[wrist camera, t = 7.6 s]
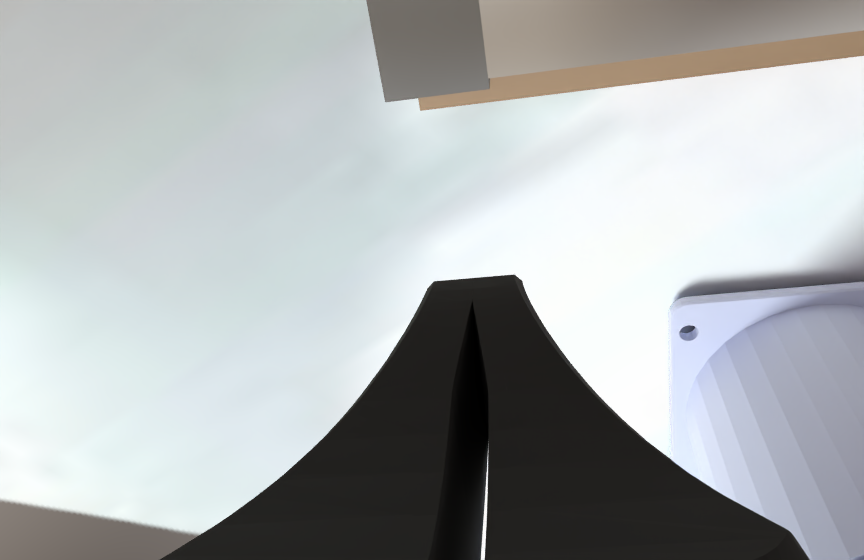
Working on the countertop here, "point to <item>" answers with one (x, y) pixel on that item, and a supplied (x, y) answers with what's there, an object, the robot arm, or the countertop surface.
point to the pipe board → (593, 43)
